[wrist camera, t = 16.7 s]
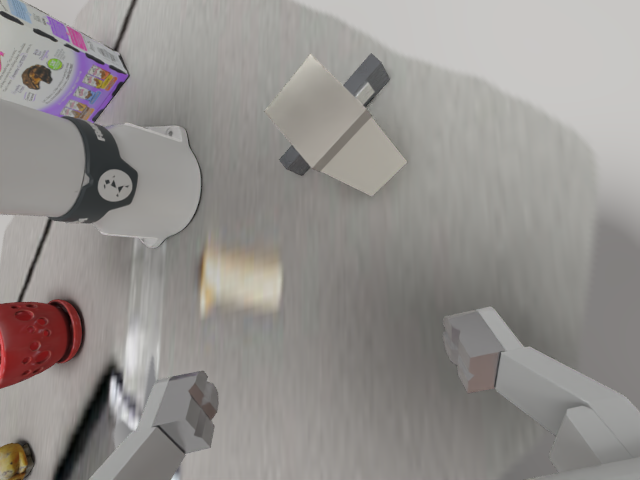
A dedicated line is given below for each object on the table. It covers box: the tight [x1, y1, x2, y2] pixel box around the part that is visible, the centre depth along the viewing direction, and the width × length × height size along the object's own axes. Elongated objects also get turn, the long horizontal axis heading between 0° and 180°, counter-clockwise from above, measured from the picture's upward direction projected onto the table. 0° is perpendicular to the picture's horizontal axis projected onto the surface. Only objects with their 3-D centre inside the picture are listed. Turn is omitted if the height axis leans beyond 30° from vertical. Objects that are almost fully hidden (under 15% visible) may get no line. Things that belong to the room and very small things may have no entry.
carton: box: [264, 53, 407, 196], centre depth 28 cm, size 5×6×14 cm
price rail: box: [279, 53, 390, 175], centre depth 34 cm, size 2×14×4 cm, turn 131°
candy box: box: [0, 0, 129, 123], centre depth 48 cm, size 14×6×16 cm, turn 121°
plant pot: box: [0, 299, 82, 389], centre depth 54 cm, size 13×13×12 cm
